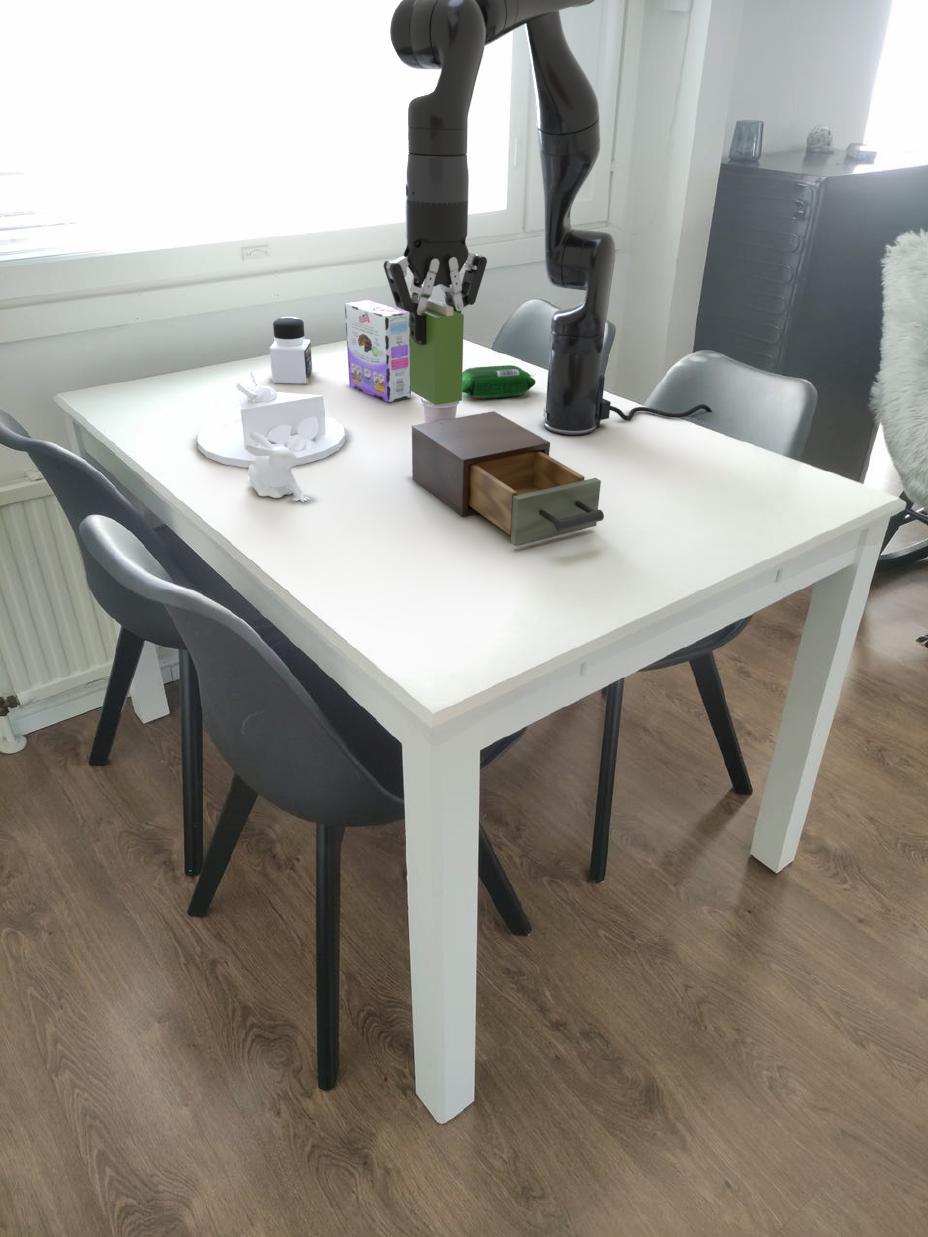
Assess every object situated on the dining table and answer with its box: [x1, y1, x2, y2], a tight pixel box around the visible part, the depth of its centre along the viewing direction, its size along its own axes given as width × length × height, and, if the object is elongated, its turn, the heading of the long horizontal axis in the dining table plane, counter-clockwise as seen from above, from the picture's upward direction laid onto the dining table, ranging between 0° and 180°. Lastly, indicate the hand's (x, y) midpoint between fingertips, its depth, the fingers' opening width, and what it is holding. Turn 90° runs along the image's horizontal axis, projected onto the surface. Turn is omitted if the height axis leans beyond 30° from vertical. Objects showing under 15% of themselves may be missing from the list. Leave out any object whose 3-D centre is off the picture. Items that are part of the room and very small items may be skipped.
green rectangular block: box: [409, 297, 465, 405], centre depth 118 cm, size 7×4×12 cm, turn 31°
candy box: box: [344, 299, 412, 403], centre depth 177 cm, size 14×6×16 cm, turn 40°
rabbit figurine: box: [246, 432, 311, 503], centre depth 136 cm, size 12×8×10 cm, turn 35°
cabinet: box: [411, 410, 551, 518], centre depth 139 cm, size 16×15×9 cm
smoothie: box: [419, 396, 460, 423], centre depth 151 cm, size 6×6×14 cm
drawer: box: [468, 450, 605, 548], centre depth 127 cm, size 20×14×7 cm
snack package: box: [462, 364, 537, 400], centre depth 180 cm, size 7×16×5 cm, turn 104°
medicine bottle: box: [269, 316, 313, 385], centre depth 185 cm, size 7×7×12 cm
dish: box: [197, 368, 346, 469], centre depth 154 cm, size 25×25×11 cm
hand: (435, 340), depth 118 cm, fingers closed on green rectangular block, 4 cm apart
